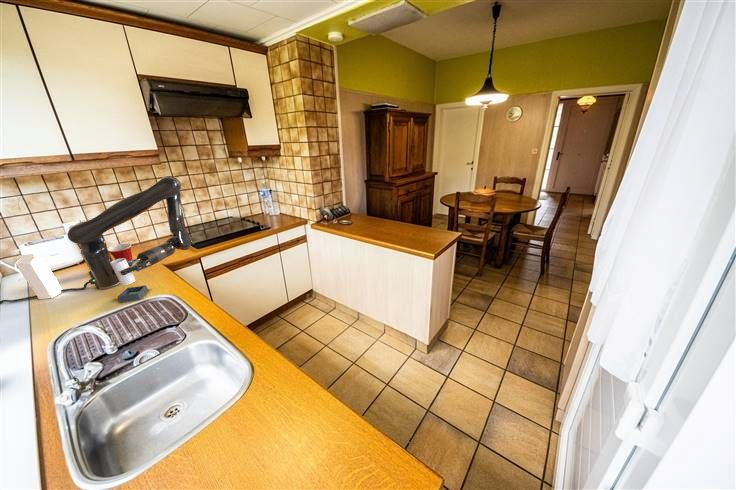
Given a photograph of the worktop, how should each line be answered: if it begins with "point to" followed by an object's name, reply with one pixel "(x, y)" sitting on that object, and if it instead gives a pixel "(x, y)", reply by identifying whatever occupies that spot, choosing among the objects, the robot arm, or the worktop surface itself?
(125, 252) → the plastic cup
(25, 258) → the milk
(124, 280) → the tumbler
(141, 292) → the dark square dish
